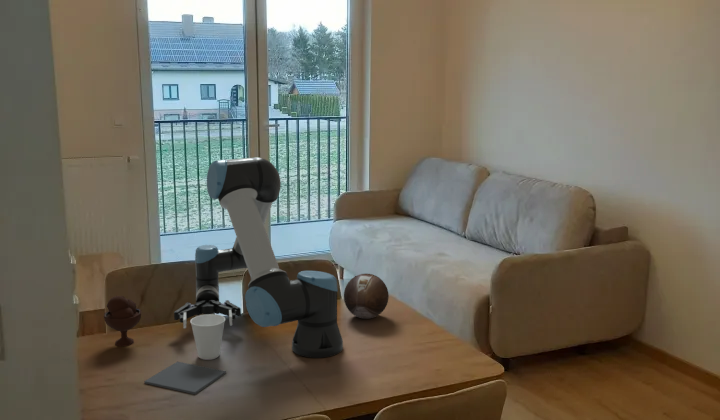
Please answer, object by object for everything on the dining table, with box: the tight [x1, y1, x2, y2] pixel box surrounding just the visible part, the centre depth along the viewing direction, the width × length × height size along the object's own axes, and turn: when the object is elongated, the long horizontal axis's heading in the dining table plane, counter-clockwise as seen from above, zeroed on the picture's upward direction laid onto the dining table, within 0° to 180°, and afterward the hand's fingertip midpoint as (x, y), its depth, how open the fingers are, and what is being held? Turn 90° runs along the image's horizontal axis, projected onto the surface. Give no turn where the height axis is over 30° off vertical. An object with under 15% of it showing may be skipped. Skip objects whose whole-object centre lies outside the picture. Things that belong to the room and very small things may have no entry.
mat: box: [144, 361, 227, 395], centre depth 186 cm, size 16×14×1 cm
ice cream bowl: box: [103, 295, 142, 347], centre depth 208 cm, size 11×11×15 cm
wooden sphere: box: [343, 273, 390, 320], centre depth 233 cm, size 15×15×15 cm
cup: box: [189, 313, 227, 361], centre depth 200 cm, size 10×10×11 cm
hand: (207, 322), depth 209 cm, fingers open, 13 cm apart
